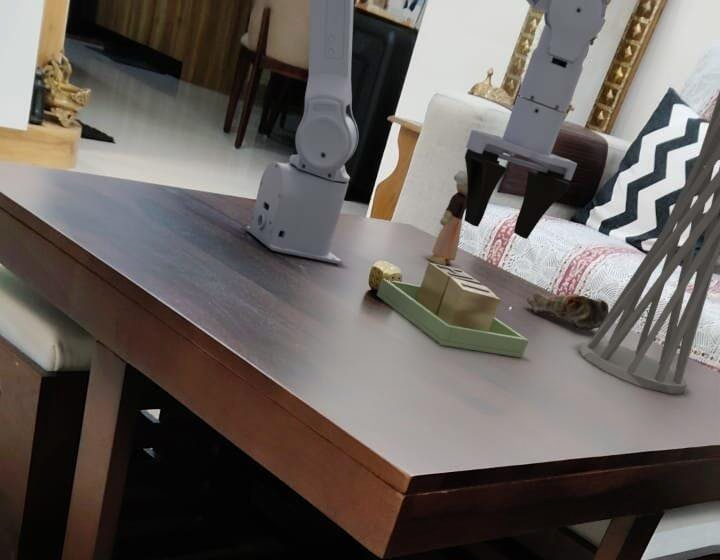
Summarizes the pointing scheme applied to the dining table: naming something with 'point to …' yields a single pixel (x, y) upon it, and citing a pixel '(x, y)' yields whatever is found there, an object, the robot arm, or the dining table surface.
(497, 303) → the wooden i block
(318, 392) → the dining table surface
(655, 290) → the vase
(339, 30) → the robot arm
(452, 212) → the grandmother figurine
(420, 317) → the tray
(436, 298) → the wooden h block
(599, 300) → the rock
